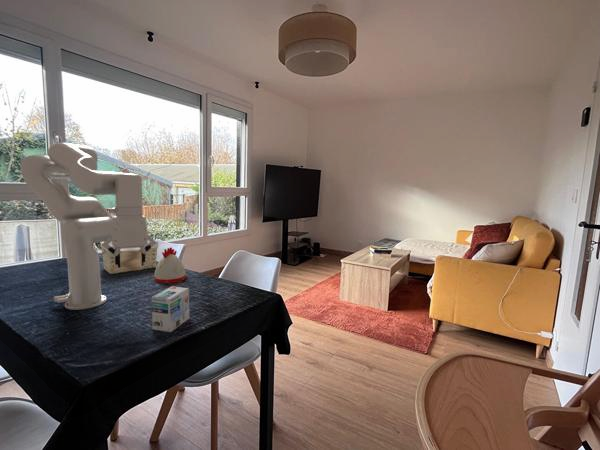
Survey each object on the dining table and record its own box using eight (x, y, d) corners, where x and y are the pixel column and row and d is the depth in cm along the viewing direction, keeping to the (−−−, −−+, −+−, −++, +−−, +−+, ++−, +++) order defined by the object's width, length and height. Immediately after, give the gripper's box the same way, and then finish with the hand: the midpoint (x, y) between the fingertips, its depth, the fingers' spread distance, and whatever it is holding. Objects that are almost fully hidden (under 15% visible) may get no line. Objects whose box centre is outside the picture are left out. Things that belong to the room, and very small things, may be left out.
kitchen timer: (147, 280, 140) (146, 248, 138) (169, 272, 152) (169, 243, 150) (170, 284, 135) (170, 252, 133) (192, 276, 147) (191, 246, 146)
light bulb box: (170, 332, 92) (170, 299, 90) (151, 330, 93) (150, 296, 92) (190, 318, 102) (189, 287, 101) (172, 315, 103) (171, 285, 102)
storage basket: (149, 261, 172) (149, 236, 170) (160, 268, 160) (159, 240, 159) (100, 268, 155) (99, 240, 154) (108, 276, 144) (106, 246, 142)
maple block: (120, 271, 96) (120, 252, 95) (119, 266, 101) (119, 248, 100) (141, 269, 99) (141, 251, 99) (139, 264, 104) (139, 247, 103)
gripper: (97, 213, 90) (99, 271, 92) (160, 213, 99) (160, 265, 102) (97, 210, 96) (99, 265, 99) (156, 210, 105) (157, 260, 108)
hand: (130, 265), depth 100 cm, fingers closed on maple block, 6 cm apart
